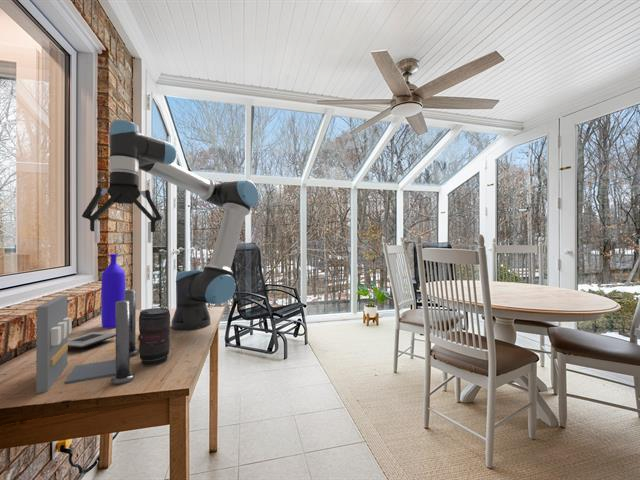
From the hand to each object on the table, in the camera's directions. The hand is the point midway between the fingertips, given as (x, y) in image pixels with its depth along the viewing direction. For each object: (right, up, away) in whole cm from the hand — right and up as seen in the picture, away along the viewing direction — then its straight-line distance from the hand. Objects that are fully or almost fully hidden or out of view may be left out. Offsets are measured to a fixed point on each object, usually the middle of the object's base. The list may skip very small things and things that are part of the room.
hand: (124, 242), depth 92 cm
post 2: (0, -35, +2) cm, 35 cm away
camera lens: (+11, -35, -3) cm, 37 cm away
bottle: (-27, -35, +34) cm, 56 cm away
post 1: (+10, -35, -15) cm, 39 cm away
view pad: (-1, -35, -10) cm, 36 cm away
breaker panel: (-9, -35, -14) cm, 39 cm away
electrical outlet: (-15, -35, +10) cm, 39 cm away
